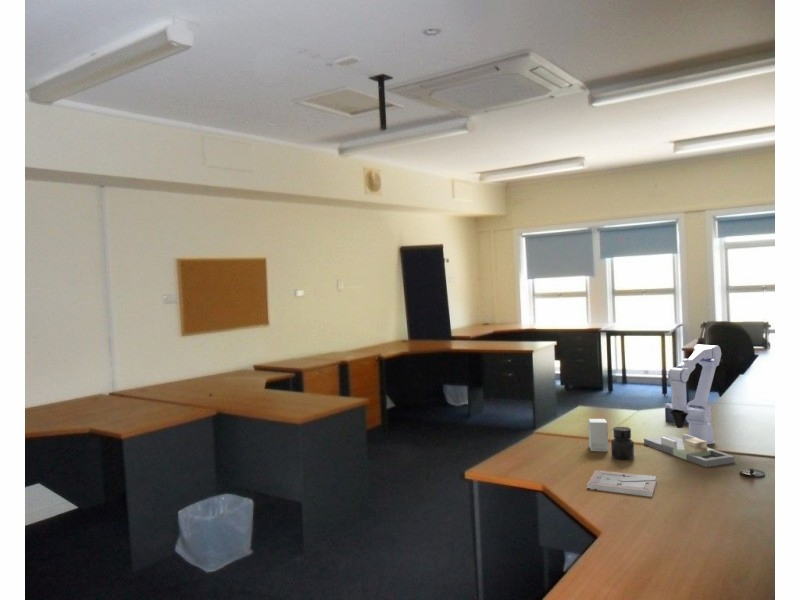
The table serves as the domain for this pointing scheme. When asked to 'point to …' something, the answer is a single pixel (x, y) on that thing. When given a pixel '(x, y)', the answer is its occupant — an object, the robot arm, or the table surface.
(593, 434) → the supplement box
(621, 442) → the ink bottle
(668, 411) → the vhs cassette tape
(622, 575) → the table surface
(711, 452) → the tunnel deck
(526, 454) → the table surface
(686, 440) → the birch block
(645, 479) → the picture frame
